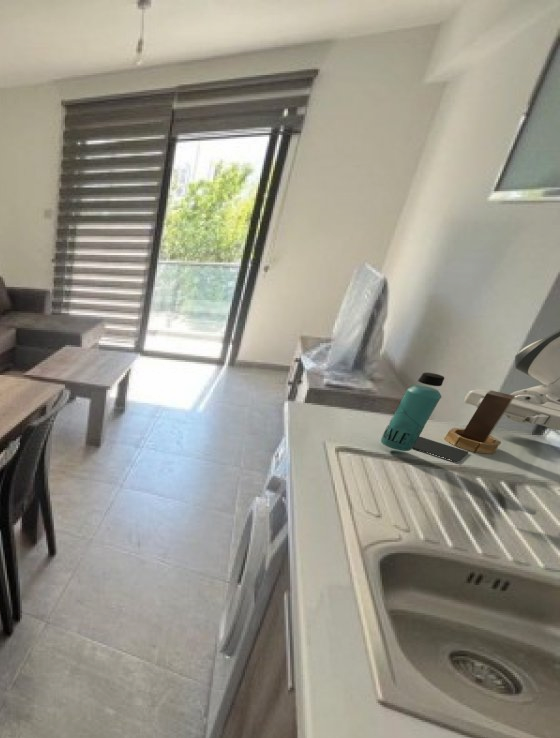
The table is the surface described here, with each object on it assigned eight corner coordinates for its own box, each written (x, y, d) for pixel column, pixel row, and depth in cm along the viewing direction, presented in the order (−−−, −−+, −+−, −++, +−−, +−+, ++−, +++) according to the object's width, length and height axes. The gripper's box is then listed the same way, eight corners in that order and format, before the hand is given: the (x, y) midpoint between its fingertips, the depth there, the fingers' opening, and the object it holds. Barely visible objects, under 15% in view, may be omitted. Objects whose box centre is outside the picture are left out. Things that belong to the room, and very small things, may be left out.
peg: (482, 446, 124) (515, 395, 117) (478, 450, 122) (511, 399, 115) (460, 439, 127) (490, 390, 120) (456, 443, 125) (486, 393, 118)
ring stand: (498, 447, 123) (503, 439, 122) (489, 457, 118) (495, 448, 117) (450, 433, 130) (455, 425, 129) (440, 441, 125) (446, 433, 124)
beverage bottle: (407, 449, 120) (449, 373, 111) (411, 459, 115) (456, 381, 106) (375, 441, 123) (413, 367, 114) (378, 451, 118) (418, 375, 109)
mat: (467, 453, 120) (468, 451, 120) (456, 463, 115) (457, 462, 114) (417, 437, 127) (418, 436, 127) (405, 446, 122) (406, 445, 121)
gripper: (484, 381, 136) (461, 387, 131) (589, 408, 120) (567, 416, 115) (472, 402, 139) (448, 408, 134) (573, 431, 123) (550, 439, 118)
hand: (504, 412), depth 124 cm, fingers open, 8 cm apart
